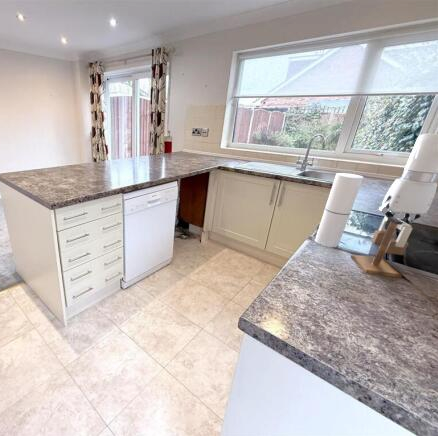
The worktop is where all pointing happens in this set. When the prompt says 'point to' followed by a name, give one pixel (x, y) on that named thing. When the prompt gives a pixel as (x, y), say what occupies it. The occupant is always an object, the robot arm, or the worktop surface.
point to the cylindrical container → (338, 209)
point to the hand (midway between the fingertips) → (393, 230)
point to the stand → (380, 255)
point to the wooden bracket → (394, 245)
